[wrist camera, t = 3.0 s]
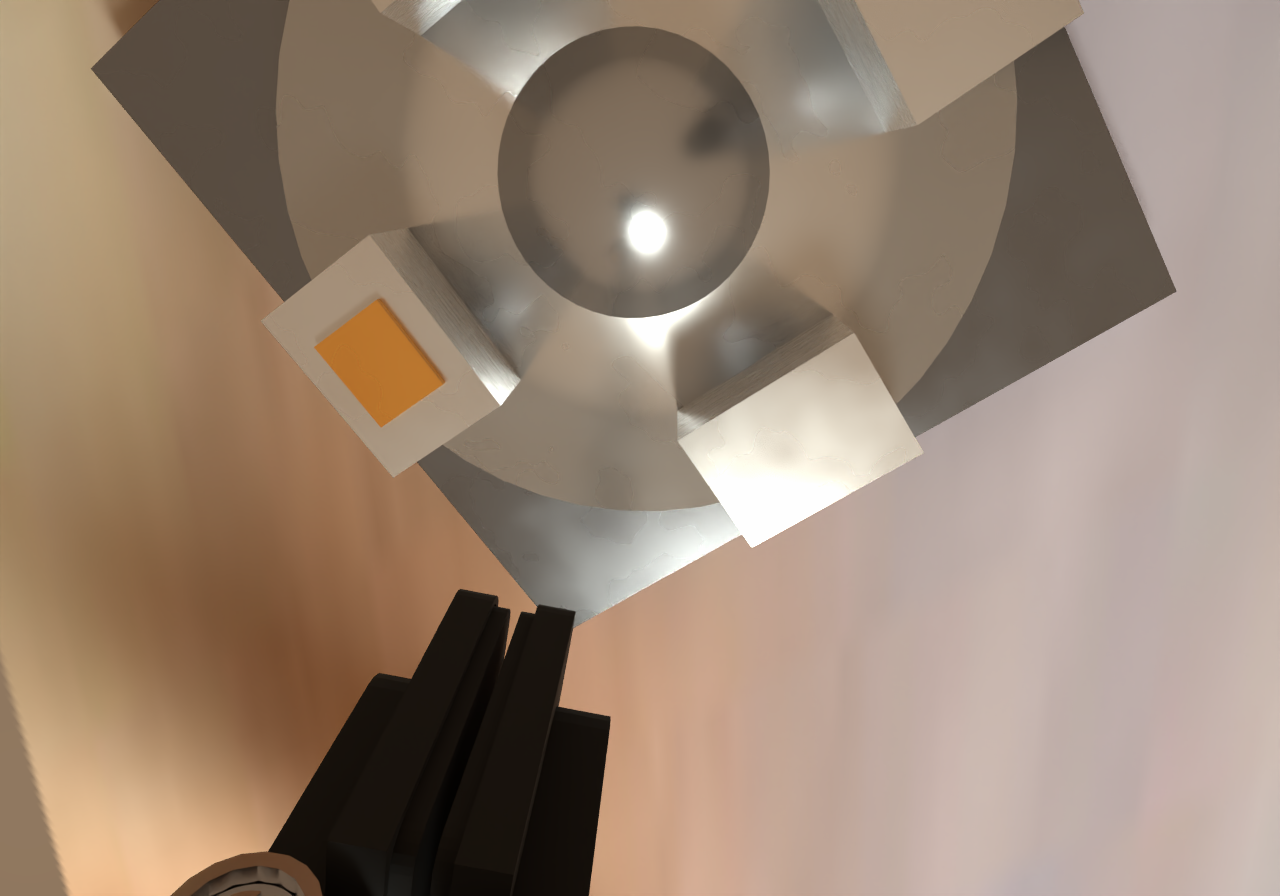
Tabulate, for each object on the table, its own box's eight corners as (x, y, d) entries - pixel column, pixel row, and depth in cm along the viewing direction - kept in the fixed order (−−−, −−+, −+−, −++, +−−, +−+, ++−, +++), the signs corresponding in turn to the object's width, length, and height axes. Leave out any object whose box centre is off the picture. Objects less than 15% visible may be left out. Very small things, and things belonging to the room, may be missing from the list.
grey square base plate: (1134, 282, 22) (1181, 292, 20) (568, 604, 27) (560, 638, 25) (775, -533, 16) (789, -637, 14) (142, 78, 21) (85, 67, 19)
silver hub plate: (1084, 272, 20) (1208, 300, 15) (571, 571, 24) (546, 664, 20) (754, -443, 15) (788, -722, 10) (187, 88, 19) (32, 60, 15)
